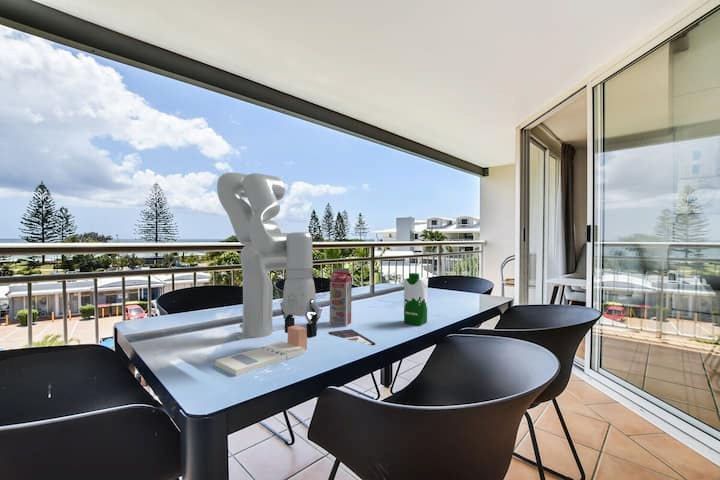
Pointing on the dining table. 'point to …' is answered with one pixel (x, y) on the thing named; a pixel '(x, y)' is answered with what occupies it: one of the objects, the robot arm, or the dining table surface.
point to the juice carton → (340, 297)
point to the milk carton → (415, 299)
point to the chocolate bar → (352, 336)
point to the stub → (292, 342)
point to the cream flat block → (249, 360)
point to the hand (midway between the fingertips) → (300, 334)
